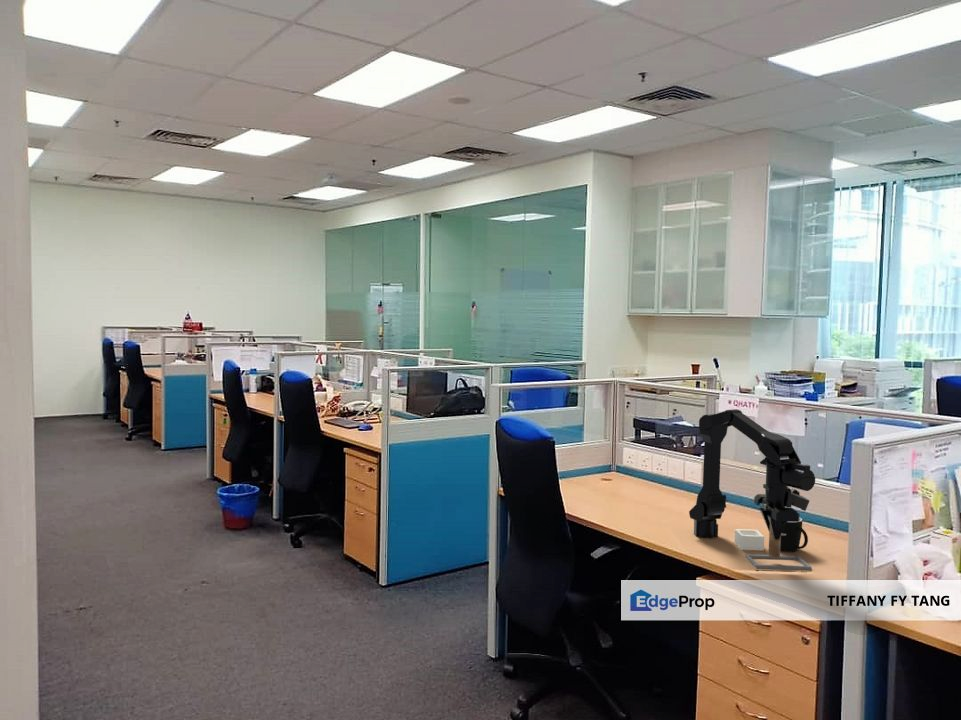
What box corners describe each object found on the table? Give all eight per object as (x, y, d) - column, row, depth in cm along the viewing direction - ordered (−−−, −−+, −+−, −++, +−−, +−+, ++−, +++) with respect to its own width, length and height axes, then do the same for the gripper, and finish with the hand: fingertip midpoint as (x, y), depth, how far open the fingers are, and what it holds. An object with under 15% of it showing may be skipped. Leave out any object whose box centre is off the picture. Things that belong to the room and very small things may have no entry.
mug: (762, 548, 210) (763, 515, 209) (782, 544, 214) (783, 512, 214) (796, 560, 199) (797, 526, 199) (816, 556, 203) (818, 522, 203)
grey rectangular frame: (755, 570, 191) (755, 565, 191) (745, 559, 200) (745, 554, 200) (811, 572, 190) (811, 567, 190) (798, 561, 199) (798, 556, 199)
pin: (770, 557, 194) (771, 525, 193) (766, 553, 197) (768, 522, 196) (781, 557, 194) (782, 525, 193) (777, 553, 197) (778, 522, 196)
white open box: (741, 552, 206) (741, 535, 206) (734, 545, 213) (734, 529, 212) (763, 553, 206) (764, 536, 206) (756, 545, 212) (756, 529, 212)
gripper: (820, 491, 184) (818, 549, 185) (793, 475, 203) (791, 528, 204) (777, 490, 185) (775, 548, 186) (754, 475, 203) (752, 527, 204)
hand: (774, 537), depth 195 cm, fingers closed on pin, 3 cm apart
